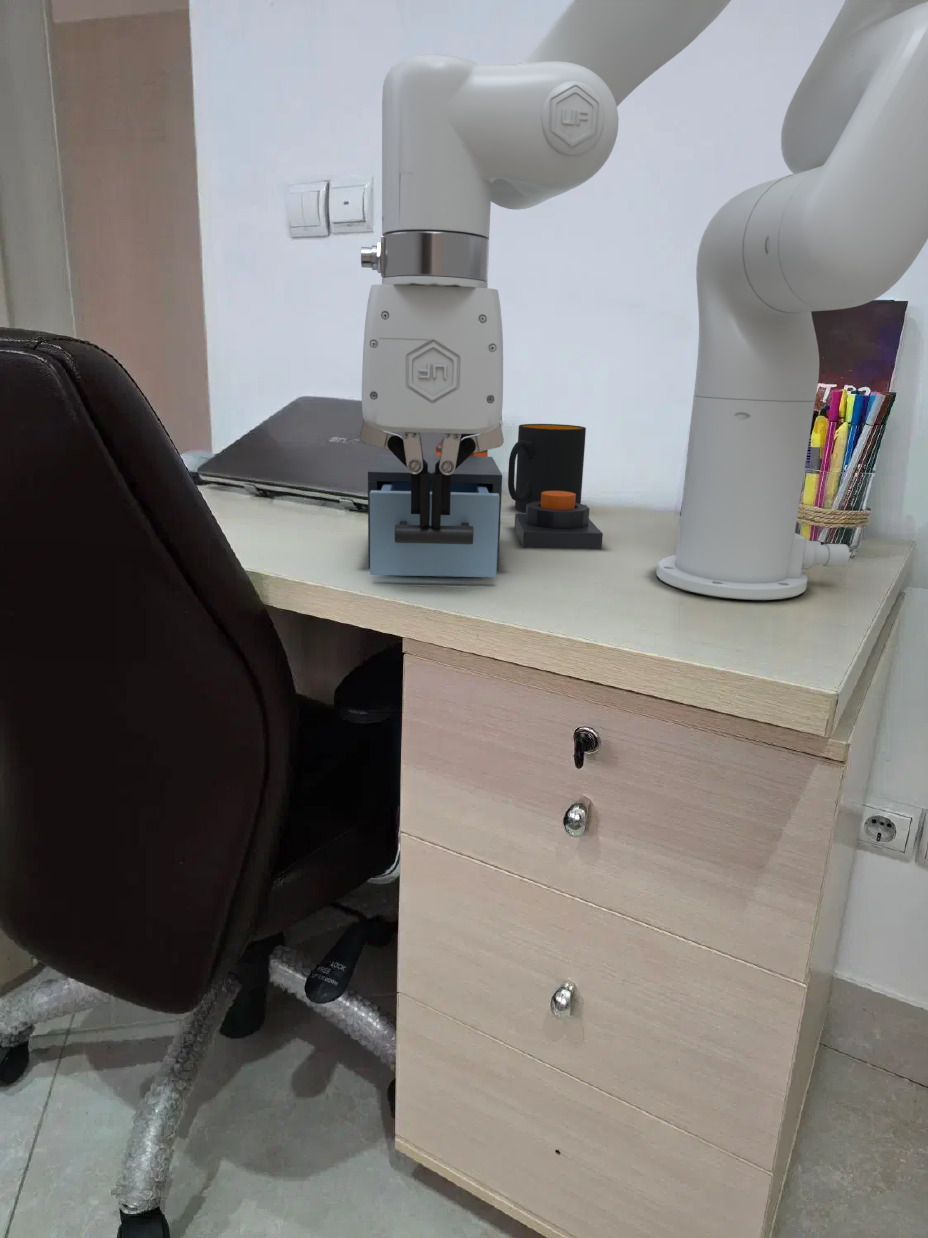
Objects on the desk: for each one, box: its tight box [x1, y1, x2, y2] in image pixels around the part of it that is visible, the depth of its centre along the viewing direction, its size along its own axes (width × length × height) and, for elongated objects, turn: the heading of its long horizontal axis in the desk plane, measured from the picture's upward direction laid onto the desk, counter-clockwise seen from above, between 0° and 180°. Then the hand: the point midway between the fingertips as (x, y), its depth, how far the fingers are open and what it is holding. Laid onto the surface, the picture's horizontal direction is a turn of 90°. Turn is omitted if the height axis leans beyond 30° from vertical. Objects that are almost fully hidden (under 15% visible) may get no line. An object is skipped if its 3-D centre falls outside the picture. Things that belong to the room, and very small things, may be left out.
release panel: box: [514, 501, 604, 550], centre depth 88 cm, size 8×10×4 cm
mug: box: [507, 423, 587, 514], centre depth 102 cm, size 8×12×10 cm
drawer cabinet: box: [367, 453, 503, 572], centre depth 79 cm, size 14×12×9 cm
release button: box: [541, 491, 576, 510], centre depth 87 cm, size 4×4×2 cm
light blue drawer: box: [369, 481, 500, 578], centre depth 71 cm, size 17×10×7 cm, turn 2°
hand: (430, 523), depth 64 cm, fingers closed
